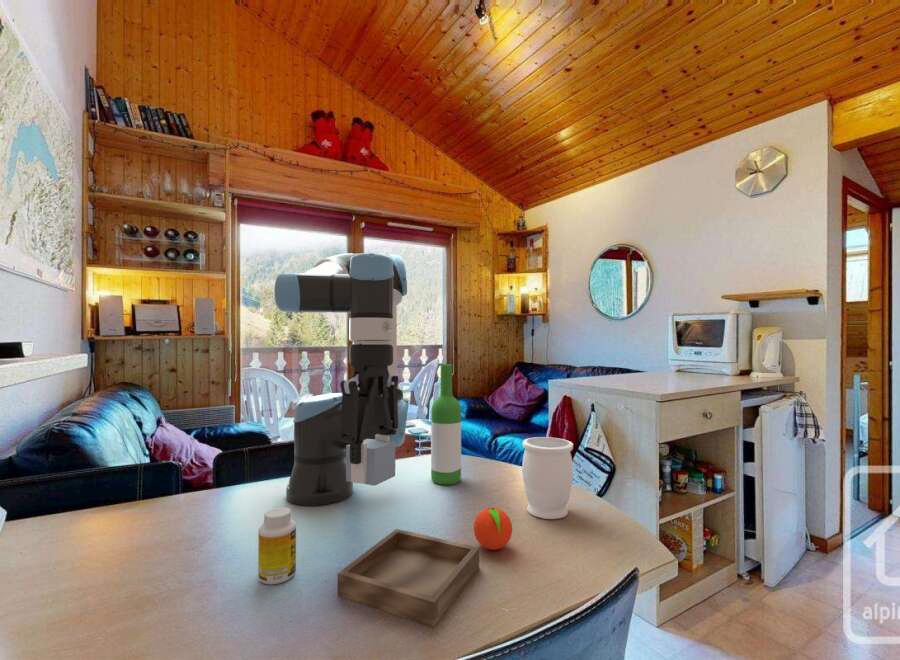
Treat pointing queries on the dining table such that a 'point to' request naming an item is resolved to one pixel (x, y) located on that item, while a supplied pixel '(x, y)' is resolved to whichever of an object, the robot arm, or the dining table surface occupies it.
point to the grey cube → (376, 461)
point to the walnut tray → (410, 575)
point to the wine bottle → (446, 433)
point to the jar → (547, 476)
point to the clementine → (492, 528)
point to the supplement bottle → (277, 546)
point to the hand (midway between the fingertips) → (371, 476)
